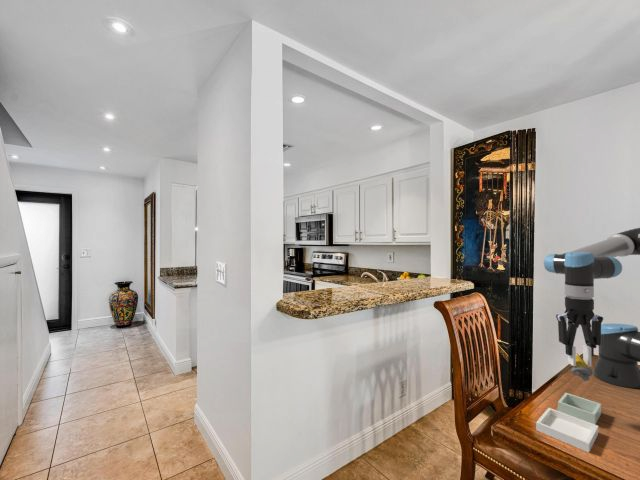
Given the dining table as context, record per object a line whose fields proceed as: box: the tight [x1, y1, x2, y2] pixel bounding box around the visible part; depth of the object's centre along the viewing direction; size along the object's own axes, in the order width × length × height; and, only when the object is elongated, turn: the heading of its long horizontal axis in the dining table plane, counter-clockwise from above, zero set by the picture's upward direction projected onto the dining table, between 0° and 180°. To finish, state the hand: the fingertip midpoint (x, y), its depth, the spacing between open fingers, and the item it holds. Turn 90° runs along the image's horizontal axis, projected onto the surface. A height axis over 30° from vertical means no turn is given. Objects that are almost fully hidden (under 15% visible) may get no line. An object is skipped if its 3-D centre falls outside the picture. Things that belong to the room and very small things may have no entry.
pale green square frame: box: [557, 392, 602, 425], centre depth 103 cm, size 10×10×4 cm
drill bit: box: [570, 352, 594, 382], centre depth 102 cm, size 5×5×10 cm
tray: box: [535, 407, 599, 453], centre depth 93 cm, size 13×13×2 cm
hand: (579, 364), depth 102 cm, fingers closed on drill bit, 4 cm apart
